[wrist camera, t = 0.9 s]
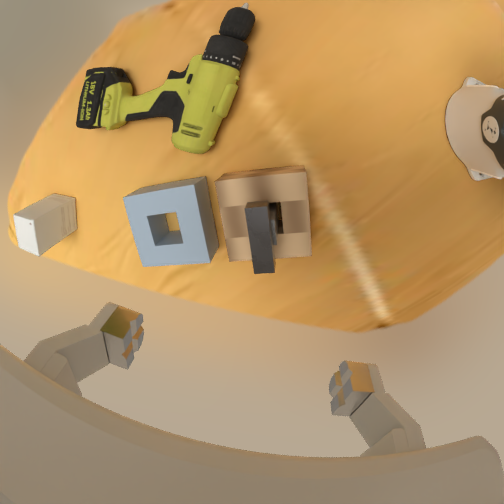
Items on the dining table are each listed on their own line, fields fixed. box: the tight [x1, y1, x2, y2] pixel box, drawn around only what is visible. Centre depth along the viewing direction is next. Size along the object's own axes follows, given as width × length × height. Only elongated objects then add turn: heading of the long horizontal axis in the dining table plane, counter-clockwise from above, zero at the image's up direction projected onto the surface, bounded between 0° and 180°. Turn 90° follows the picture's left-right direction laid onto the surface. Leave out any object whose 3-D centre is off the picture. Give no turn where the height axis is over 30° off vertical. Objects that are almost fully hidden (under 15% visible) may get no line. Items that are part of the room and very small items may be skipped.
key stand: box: [215, 166, 312, 262], centre depth 39 cm, size 12×12×6 cm
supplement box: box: [13, 194, 77, 256], centre depth 41 cm, size 7×7×13 cm
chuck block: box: [123, 176, 219, 267], centre depth 42 cm, size 12×12×6 cm
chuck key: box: [244, 200, 279, 274], centre depth 36 cm, size 8×3×13 cm, turn 7°
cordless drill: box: [76, 3, 255, 154], centre depth 30 cm, size 7×25×25 cm
